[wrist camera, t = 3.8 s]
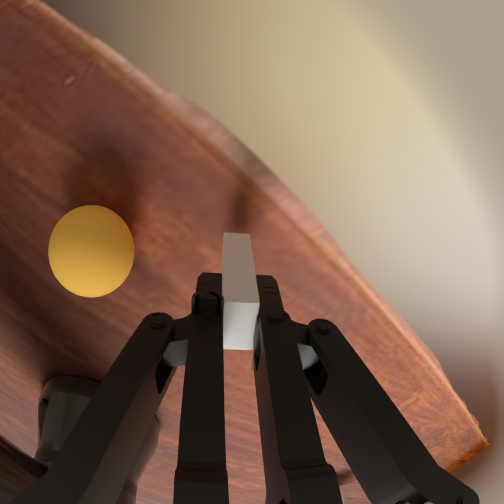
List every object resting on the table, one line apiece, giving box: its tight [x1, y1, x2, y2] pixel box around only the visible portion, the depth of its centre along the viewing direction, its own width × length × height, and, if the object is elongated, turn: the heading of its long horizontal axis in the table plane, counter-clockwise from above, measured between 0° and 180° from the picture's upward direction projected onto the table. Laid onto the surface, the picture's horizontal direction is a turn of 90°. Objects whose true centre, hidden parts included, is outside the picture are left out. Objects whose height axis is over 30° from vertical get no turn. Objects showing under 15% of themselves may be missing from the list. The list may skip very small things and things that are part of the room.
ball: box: [48, 205, 134, 297], centre depth 17 cm, size 6×6×6 cm
